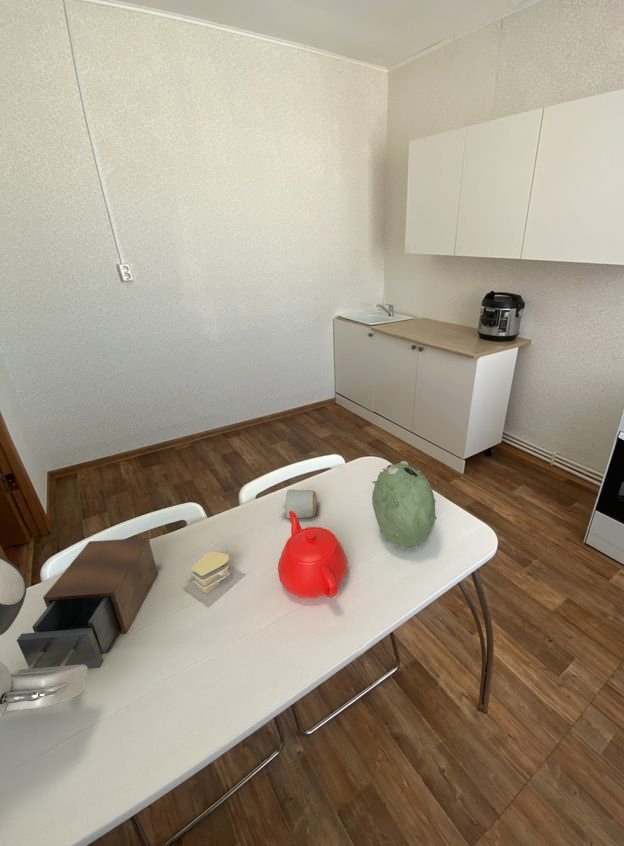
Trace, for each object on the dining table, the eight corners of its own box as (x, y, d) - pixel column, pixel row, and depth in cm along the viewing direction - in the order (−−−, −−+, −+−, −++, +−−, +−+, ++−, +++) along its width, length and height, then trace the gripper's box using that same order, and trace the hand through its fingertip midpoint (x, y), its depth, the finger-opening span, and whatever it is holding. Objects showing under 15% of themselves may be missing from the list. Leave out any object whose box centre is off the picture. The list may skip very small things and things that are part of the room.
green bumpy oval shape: (402, 574, 87) (404, 501, 80) (358, 528, 102) (356, 462, 95) (451, 547, 95) (457, 478, 88) (404, 507, 110) (406, 445, 103)
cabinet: (126, 633, 75) (113, 592, 71) (59, 638, 74) (42, 597, 70) (157, 574, 88) (148, 537, 85) (101, 578, 87) (89, 541, 84)
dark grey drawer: (85, 698, 63) (70, 661, 60) (12, 705, 62) (-7, 668, 59) (136, 604, 80) (127, 571, 77) (79, 608, 79) (68, 575, 76)
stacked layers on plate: (208, 607, 80) (204, 587, 78) (182, 588, 84) (177, 569, 83) (245, 574, 88) (242, 555, 86) (219, 559, 92) (216, 541, 90)
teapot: (369, 600, 81) (369, 554, 77) (300, 634, 74) (295, 587, 70) (321, 530, 101) (318, 491, 97) (263, 552, 94) (258, 511, 90)
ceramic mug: (316, 522, 104) (315, 498, 102) (286, 524, 104) (284, 500, 101) (317, 499, 114) (316, 477, 112) (289, 501, 114) (287, 478, 111)
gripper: (56, 665, 51) (112, 646, 63) (-110, 679, 49) (-19, 657, 62) (42, 726, 48) (104, 693, 61) (-134, 742, 47) (-33, 705, 59)
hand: (41, 675), depth 61 cm, fingers open, 8 cm apart
